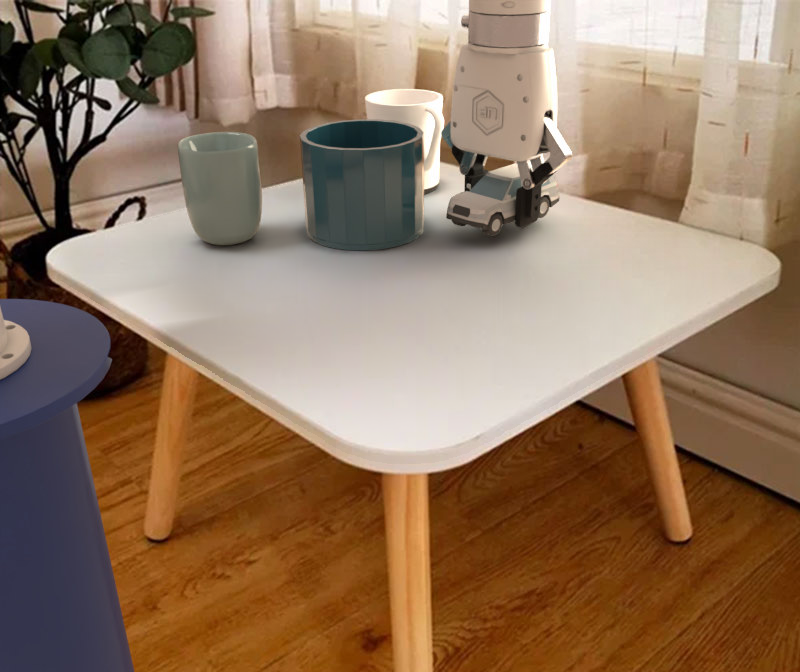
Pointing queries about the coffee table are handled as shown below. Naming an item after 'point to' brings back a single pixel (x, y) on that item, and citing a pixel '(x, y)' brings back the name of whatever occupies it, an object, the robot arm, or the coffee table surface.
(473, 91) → the robot arm
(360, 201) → the teal plant pot
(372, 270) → the coffee table surface
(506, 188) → the toy car
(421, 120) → the mug
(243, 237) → the cup
